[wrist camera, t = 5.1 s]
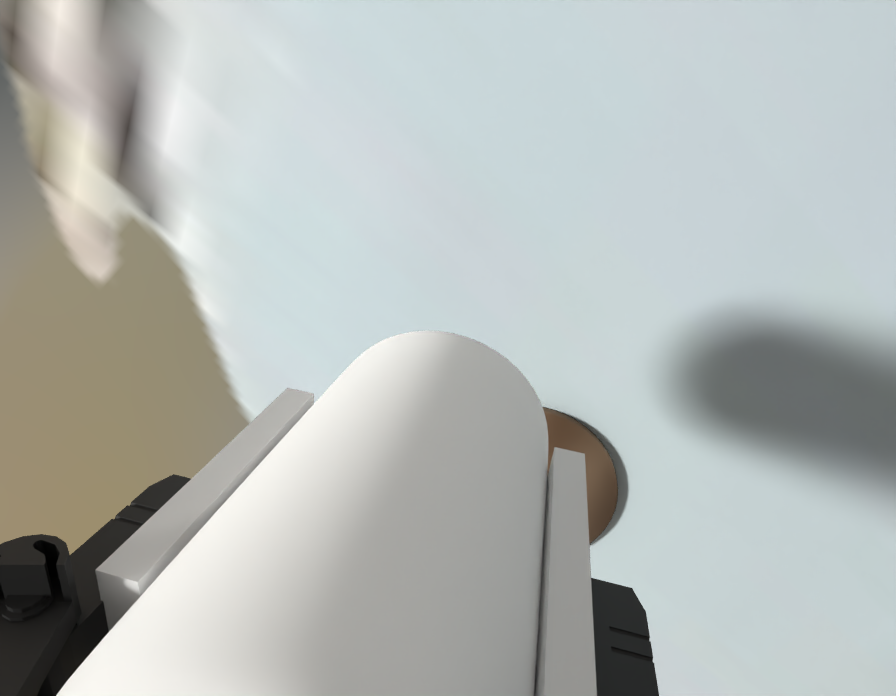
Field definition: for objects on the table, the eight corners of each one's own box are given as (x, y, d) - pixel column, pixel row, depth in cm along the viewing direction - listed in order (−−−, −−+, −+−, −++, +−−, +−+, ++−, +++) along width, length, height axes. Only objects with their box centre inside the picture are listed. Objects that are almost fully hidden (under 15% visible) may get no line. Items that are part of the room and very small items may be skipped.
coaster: (638, 426, 28) (639, 432, 28) (592, 569, 32) (593, 577, 32) (450, 388, 29) (448, 393, 29) (429, 530, 33) (427, 536, 33)
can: (313, 338, 16) (-224, 794, 5) (531, 309, 14) (416, 894, 3) (368, 517, 18) (73, 1099, 7) (563, 509, 17) (554, 1253, 6)
